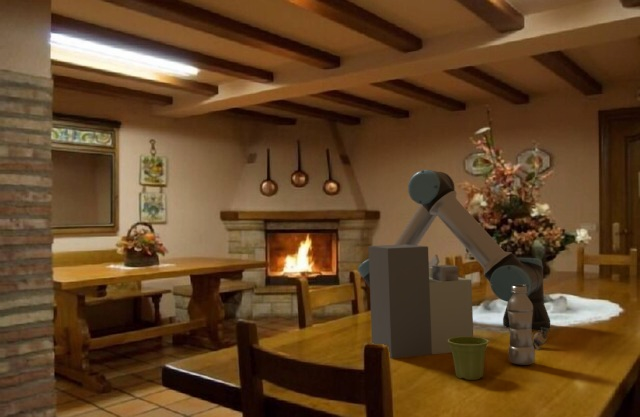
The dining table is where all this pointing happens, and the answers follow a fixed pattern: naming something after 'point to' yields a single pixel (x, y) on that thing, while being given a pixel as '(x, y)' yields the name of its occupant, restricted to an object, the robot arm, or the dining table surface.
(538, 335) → the vase
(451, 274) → the batten
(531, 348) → the plastic bottle
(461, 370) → the plant pot
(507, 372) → the dining table surface
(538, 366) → the dining table surface
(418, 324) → the pedestal
